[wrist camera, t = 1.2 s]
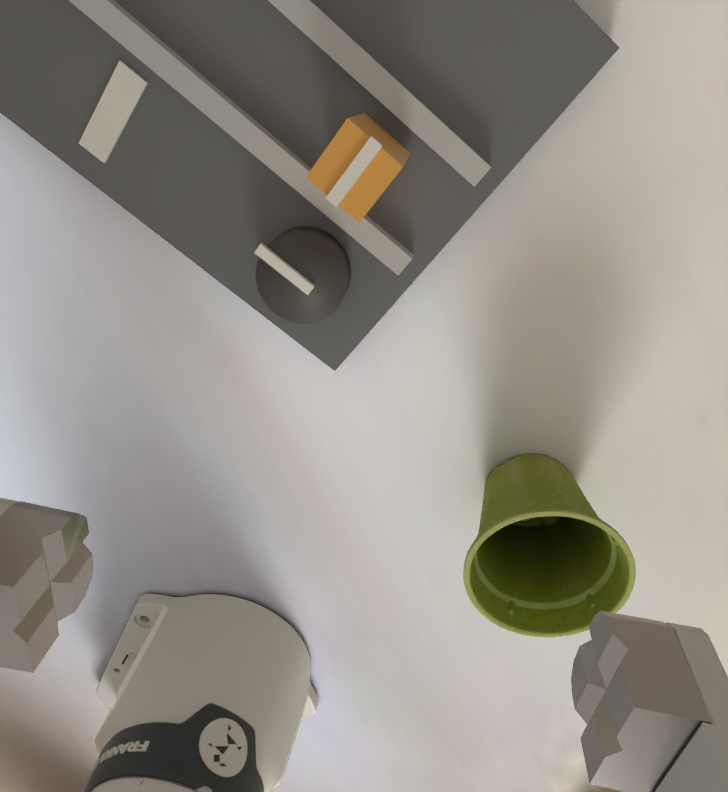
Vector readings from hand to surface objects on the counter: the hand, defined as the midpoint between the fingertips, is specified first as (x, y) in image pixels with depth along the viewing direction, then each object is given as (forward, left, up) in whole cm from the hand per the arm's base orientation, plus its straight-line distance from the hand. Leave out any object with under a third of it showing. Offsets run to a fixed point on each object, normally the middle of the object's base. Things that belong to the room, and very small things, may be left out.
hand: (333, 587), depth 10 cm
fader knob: (+2, +4, -26) cm, 26 cm away
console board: (+2, +12, -28) cm, 31 cm away
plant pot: (-8, -18, -28) cm, 35 cm away
